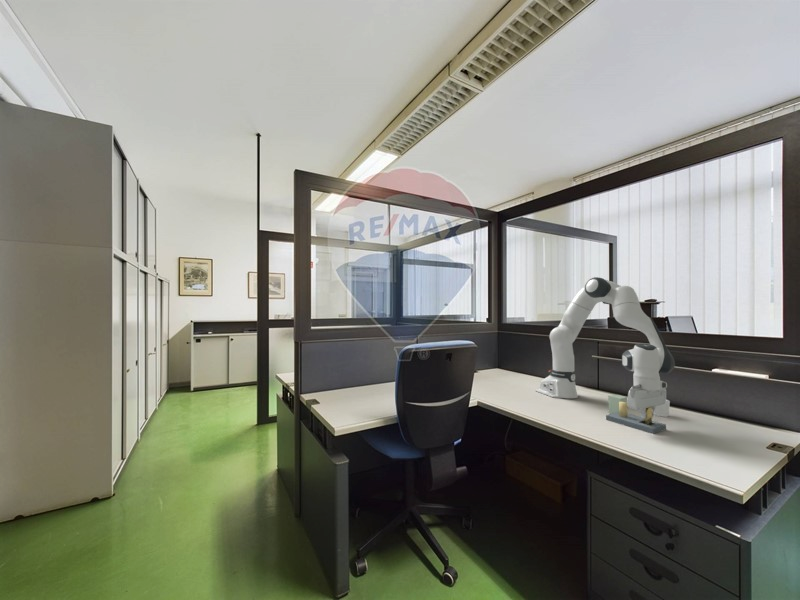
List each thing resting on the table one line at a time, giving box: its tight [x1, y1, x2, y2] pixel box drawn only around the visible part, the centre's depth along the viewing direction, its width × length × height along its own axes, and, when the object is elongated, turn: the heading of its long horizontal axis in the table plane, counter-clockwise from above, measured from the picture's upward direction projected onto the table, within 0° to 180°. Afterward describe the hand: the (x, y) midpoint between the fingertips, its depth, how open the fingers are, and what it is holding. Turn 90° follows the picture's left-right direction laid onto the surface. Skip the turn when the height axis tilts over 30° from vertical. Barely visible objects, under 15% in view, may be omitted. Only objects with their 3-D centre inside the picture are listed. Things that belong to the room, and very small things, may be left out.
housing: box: [608, 394, 628, 414], centre depth 151 cm, size 5×5×8 cm
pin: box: [643, 407, 653, 426], centre depth 133 cm, size 3×3×8 cm
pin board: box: [605, 402, 667, 435], centre depth 137 cm, size 18×10×8 cm, turn 28°
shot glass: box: [654, 398, 671, 418], centre depth 149 cm, size 7×7×7 cm
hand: (647, 417), depth 133 cm, fingers closed on pin, 3 cm apart
